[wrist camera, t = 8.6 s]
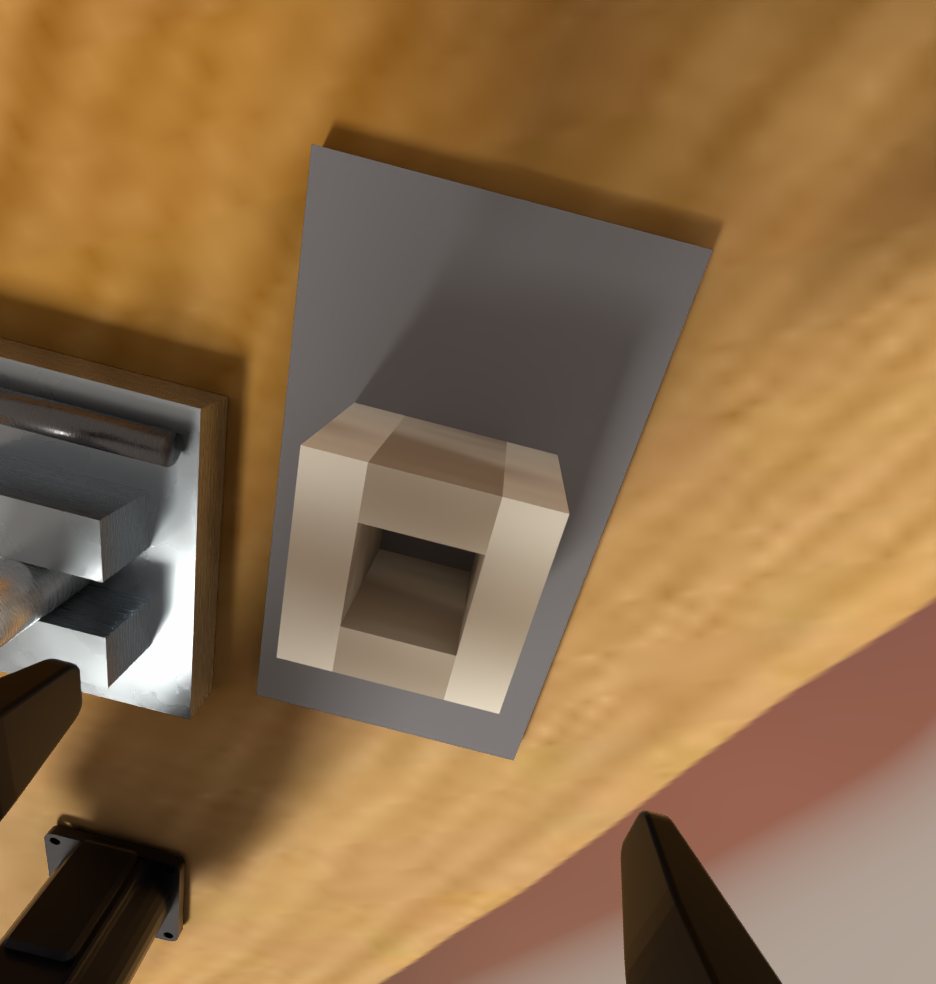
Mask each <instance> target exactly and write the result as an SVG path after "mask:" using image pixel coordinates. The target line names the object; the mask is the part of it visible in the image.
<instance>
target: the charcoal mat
mask: <svg viewBox="0 0 936 984" xmlns="http://www.w3.org/2000/svg"><path fill="white" fill-rule="evenodd" d="M712 251H713V250H711V249H708V248H704V247H700V246H696V245H692V244H689V243H685V242H681V241H677V240H673V239H670V238H666V237H662V236H658V235H655V234H651V233H647V232H643V231H639V230H636V229H632V228H628V227H624V226H620V225H617V224H613V223H609V222H605V221H602V220H598V219H594V218H590V217H586V216H583V215H579V214H575V213H571V212H567V211H564V210H560V209H556V208H552V207H549V206H545V205H541V204H537V203H533V202H530V201H526V200H522V199H518V198H514V197H511V196H507V195H503V194H499V193H496V192H492V191H488V190H484V189H480V188H477V187H473V186H469V185H465V184H461V183H458V182H454V181H450V180H446V179H442V178H439V177H435V176H431V175H427V174H424V173H420V172H416V171H412V170H408V169H405V168H401V167H397V166H393V165H389V164H386V163H382V162H378V161H374V160H371V159H367V158H363V157H359V156H355V155H352V154H348V153H344V152H340V151H336V150H333V149H329V148H325V147H321V146H318V145H314V144H312V146H311V156H310V166H309V176H308V186H307V196H306V206H305V216H304V226H303V236H302V246H301V256H300V266H299V275H298V285H297V295H296V305H295V315H294V325H293V335H292V345H291V355H290V365H289V375H288V385H287V395H286V405H285V414H284V424H283V434H282V444H281V454H280V464H279V474H278V484H277V494H276V504H275V514H274V524H273V534H272V544H271V554H270V563H269V573H268V583H267V593H266V603H265V613H264V623H263V633H262V643H261V653H260V663H259V673H258V683H257V693H256V695H259V696H263V697H267V698H271V699H275V700H279V701H283V702H287V703H291V704H294V705H298V706H302V707H306V708H310V709H314V710H318V711H322V712H326V713H330V714H334V715H338V716H341V717H345V718H349V719H353V720H357V721H361V722H365V723H369V724H373V725H377V726H381V727H385V728H388V729H392V730H396V731H400V732H404V733H408V734H412V735H416V736H420V737H424V738H428V739H432V740H435V741H439V742H443V743H447V744H451V745H455V746H459V747H463V748H467V749H471V750H475V751H479V752H482V753H486V754H490V755H494V756H498V757H502V758H506V759H510V760H514V758H515V756H516V753H517V750H518V748H519V745H520V743H521V740H522V738H523V735H524V733H525V730H526V727H527V725H528V722H529V720H530V717H531V715H532V712H533V710H534V707H535V704H536V702H537V699H538V697H539V694H540V692H541V689H542V686H543V684H544V681H545V679H546V676H547V674H548V671H549V669H550V666H551V663H552V661H553V658H554V656H555V653H556V651H557V648H558V645H559V643H560V640H561V638H562V635H563V633H564V630H565V628H566V625H567V622H568V620H569V617H570V615H571V612H572V610H573V607H574V605H575V602H576V599H577V597H578V594H579V592H580V589H581V587H582V584H583V581H584V579H585V576H586V574H587V571H588V569H589V566H590V564H591V561H592V558H593V556H594V553H595V551H596V548H597V546H598V543H599V541H600V538H601V535H602V533H603V530H604V528H605V525H606V523H607V520H608V517H609V515H610V512H611V510H612V507H613V505H614V502H615V500H616V497H617V494H618V492H619V489H620V487H621V484H622V482H623V479H624V476H625V474H626V471H627V469H628V466H629V464H630V461H631V459H632V456H633V453H634V451H635V448H636V446H637V443H638V441H639V438H640V436H641V433H642V430H643V428H644V425H645V423H646V420H647V418H648V415H649V412H650V410H651V407H652V405H653V402H654V400H655V397H656V395H657V392H658V389H659V387H660V384H661V382H662V379H663V377H664V374H665V371H666V369H667V366H668V364H669V361H670V359H671V356H672V354H673V351H674V348H675V346H676V343H677V341H678V338H679V336H680V333H681V331H682V328H683V325H684V323H685V320H686V318H687V315H688V313H689V310H690V307H691V305H692V302H693V300H694V297H695V295H696V292H697V290H698V287H699V284H700V282H701V279H702V277H703V274H704V272H705V269H706V267H707V264H708V261H709V259H710V256H711V254H712ZM353 403H358V404H362V405H366V406H370V407H373V408H377V409H381V410H385V411H389V412H393V413H397V414H401V415H404V416H408V417H412V418H416V419H420V420H424V421H428V422H432V423H436V424H439V425H443V426H447V427H451V428H455V429H459V430H463V431H467V432H471V433H474V434H478V435H482V436H486V437H490V438H494V439H498V440H502V441H506V442H509V443H513V444H517V445H521V446H525V447H529V448H533V449H537V450H541V451H544V452H548V453H552V454H556V455H558V459H559V464H560V469H561V474H562V479H563V484H564V489H565V494H566V499H567V504H568V509H569V517H568V520H567V522H566V525H565V528H564V531H563V534H562V537H561V540H560V542H559V545H558V548H557V551H556V554H555V557H554V559H553V562H552V565H551V568H550V571H549V574H548V576H547V579H546V582H545V585H544V588H543V591H542V593H541V596H540V599H539V602H538V605H537V608H536V611H535V613H534V616H533V619H532V622H531V625H530V628H529V630H528V633H527V636H526V639H525V642H524V645H523V647H522V650H521V653H520V656H519V659H518V662H517V664H516V667H515V670H514V673H513V676H512V679H511V682H510V684H509V687H508V690H507V693H506V696H505V699H504V701H503V704H502V707H501V710H500V713H499V714H497V713H493V712H490V711H486V710H482V709H478V708H474V707H470V706H466V705H462V704H458V703H454V702H450V701H446V700H442V699H438V698H434V697H430V696H426V695H422V694H419V693H415V692H411V691H407V690H403V689H399V688H395V687H391V686H387V685H383V684H379V683H375V682H371V681H367V680H363V679H359V678H355V677H352V676H348V675H344V674H340V673H336V672H332V671H328V670H324V669H320V668H316V667H312V666H308V665H304V664H300V663H296V662H292V661H288V660H284V659H281V658H277V649H278V640H279V631H280V623H281V614H282V605H283V596H284V587H285V578H286V570H287V561H288V552H289V543H290V534H291V525H292V517H293V508H294V499H295V490H296V481H297V472H298V464H299V455H300V446H301V444H303V443H304V442H305V441H306V440H308V439H309V438H310V437H311V436H313V435H314V434H315V433H317V432H318V431H319V430H320V429H322V428H323V427H324V426H325V425H327V424H328V423H329V422H331V421H332V420H333V419H334V418H336V417H337V416H338V415H339V414H341V413H342V412H343V411H344V410H346V409H347V408H348V407H350V406H351V405H352V404H353ZM380 549H382V550H386V551H390V552H394V553H398V554H402V555H405V556H409V557H413V558H417V559H421V560H425V561H429V562H433V563H437V564H441V565H445V566H449V567H452V568H456V569H460V570H464V571H468V572H471V568H472V565H473V561H474V557H475V554H476V553H475V552H471V551H467V550H463V549H459V548H456V547H452V546H448V545H444V544H440V543H436V542H432V541H428V540H424V539H420V538H416V537H413V536H409V535H405V534H401V533H397V532H393V531H389V530H385V529H383V534H382V539H381V544H380Z"/></svg>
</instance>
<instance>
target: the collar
mask: <svg viewBox="0 0 936 984" xmlns="http://www.w3.org/2000/svg"><path fill="white" fill-rule="evenodd" d="M568 517H569V509H568V504H567V499H566V494H565V489H564V484H563V479H562V474H561V469H560V464H559V459H558V455H556V454H552V453H548V452H544V451H541V450H537V449H533V448H529V447H525V446H521V445H517V444H513V443H509V442H506V441H502V440H498V439H494V438H490V437H486V436H482V435H478V434H474V433H471V432H467V431H463V430H459V429H455V428H451V427H447V426H443V425H439V424H436V423H432V422H428V421H424V420H420V419H416V418H412V417H408V416H404V415H401V414H397V413H393V412H389V411H385V410H381V409H377V408H373V407H370V406H366V405H362V404H358V403H353V404H352V405H351V406H350V407H348V408H347V409H346V410H344V411H343V412H342V413H341V414H339V415H338V416H337V417H336V418H334V419H333V420H332V421H331V422H329V423H328V424H327V425H325V426H324V427H323V428H322V429H320V430H319V431H318V432H317V433H315V434H314V435H313V436H311V437H310V438H309V439H308V440H306V441H305V442H304V443H303V444H301V446H300V455H299V464H298V472H297V481H296V490H295V499H294V508H293V517H292V525H291V534H290V543H289V552H288V561H287V570H286V578H285V587H284V596H283V605H282V614H281V623H280V631H279V640H278V649H277V658H281V659H284V660H288V661H292V662H296V663H300V664H304V665H308V666H312V667H316V668H320V669H324V670H328V671H332V672H336V673H340V674H344V675H348V676H352V677H355V678H359V679H363V680H367V681H371V682H375V683H379V684H383V685H387V686H391V687H395V688H399V689H403V690H407V691H411V692H415V693H419V694H422V695H426V696H430V697H434V698H438V699H442V700H446V701H450V702H454V703H458V704H462V705H466V706H470V707H474V708H478V709H482V710H486V711H490V712H493V713H497V714H499V713H500V710H501V707H502V704H503V701H504V699H505V696H506V693H507V690H508V687H509V684H510V682H511V679H512V676H513V673H514V670H515V667H516V664H517V662H518V659H519V656H520V653H521V650H522V647H523V645H524V642H525V639H526V636H527V633H528V630H529V628H530V625H531V622H532V619H533V616H534V613H535V611H536V608H537V605H538V602H539V599H540V596H541V593H542V591H543V588H544V585H545V582H546V579H547V576H548V574H549V571H550V568H551V565H552V562H553V559H554V557H555V554H556V551H557V548H558V545H559V542H560V540H561V537H562V534H563V531H564V528H565V525H566V522H567V520H568ZM383 529H385V530H389V531H393V532H397V533H401V534H405V535H409V536H413V537H416V538H420V539H424V540H428V541H432V542H436V543H440V544H444V545H448V546H452V547H456V548H459V549H463V550H467V551H471V552H475V553H476V554H475V557H474V561H473V565H472V568H471V572H468V571H464V570H460V569H456V568H452V567H449V566H445V565H441V564H437V563H433V562H429V561H425V560H421V559H417V558H413V557H409V556H405V555H402V554H398V553H394V552H390V551H386V550H382V549H380V544H381V539H382V534H383Z"/></svg>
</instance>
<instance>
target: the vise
mask: <svg viewBox="0 0 936 984" xmlns="http://www.w3.org/2000/svg"><path fill="white" fill-rule="evenodd" d="M227 410H228V397H226V396H222V395H219V394H215V393H211V392H207V391H203V390H199V389H196V388H192V387H188V386H184V385H180V384H176V383H172V382H169V381H165V380H161V379H157V378H153V377H149V376H145V375H142V374H138V373H134V372H130V371H126V370H122V369H119V368H115V367H111V366H107V365H103V364H99V363H95V362H92V361H88V360H84V359H80V358H76V357H72V356H69V355H65V354H61V353H57V352H53V351H49V350H45V349H42V348H38V347H34V346H30V345H26V344H22V343H18V342H15V341H11V340H7V339H3V338H0V671H2V672H6V673H10V674H11V673H13V672H16V671H18V670H20V669H23V668H25V667H28V666H30V665H33V664H35V663H38V662H40V661H43V660H46V659H58V660H62V661H66V662H70V663H74V664H76V665H77V666H78V667H79V669H80V678H81V691H82V692H85V693H88V694H92V695H96V696H100V697H104V698H108V699H112V700H116V701H120V702H124V703H128V704H132V705H136V706H140V707H143V708H147V709H151V710H155V711H159V712H163V713H167V714H171V715H175V716H179V717H183V718H187V719H191V717H192V716H193V715H194V713H195V712H196V711H197V709H198V708H199V707H200V705H201V704H202V703H203V701H204V700H205V698H206V697H207V696H208V694H209V693H210V692H211V690H212V682H213V664H214V646H215V628H216V610H217V592H218V573H219V555H220V537H221V519H222V501H223V483H224V465H225V447H226V428H227Z"/></svg>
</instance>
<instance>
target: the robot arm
mask: <svg viewBox="0 0 936 984" xmlns="http://www.w3.org/2000/svg"><path fill="white" fill-rule="evenodd" d="M81 706H82V691H81V678H80V669H79V667H78V666H77V665H76V664H74V663H70V662H66V661H62V660H58V659H46V660H43V661H40V662H38V663H35V664H33V665H30V666H28V667H25V668H23V669H20V670H18V671H16V672H13V673H11V674H8V675H6V676H3V677H1V678H0V821H1V820H2V819H3V818H4V816H5V815H6V814H7V812H8V811H9V810H10V809H11V807H12V806H13V805H14V803H15V802H16V801H17V799H18V798H19V797H20V795H21V794H22V792H23V791H24V790H25V788H26V787H27V786H28V784H29V783H30V781H31V780H32V779H33V777H34V776H35V774H36V773H37V772H38V770H39V769H40V768H41V766H42V765H43V763H44V762H45V761H46V759H47V758H48V757H49V755H50V754H51V752H52V751H53V750H54V748H55V747H56V746H57V744H58V743H59V741H60V740H61V739H62V737H63V736H64V734H65V733H66V732H67V730H68V729H69V728H70V726H71V725H72V723H73V722H74V721H75V719H76V718H77V716H78V714H79V712H80V709H81ZM44 839H45V847H46V854H47V861H48V869H49V876H50V877H49V878H48V880H47V881H46V882H45V883H44V885H43V886H42V887H41V889H40V890H39V891H38V892H37V894H36V895H35V896H34V898H33V899H32V900H31V901H30V903H29V904H28V905H27V907H26V908H25V909H24V910H23V912H22V913H21V914H20V916H19V917H18V918H17V919H16V921H15V922H14V923H13V925H12V926H11V927H10V928H9V930H8V931H7V932H6V934H5V935H4V936H3V937H2V939H1V940H0V984H130V982H131V980H132V978H133V977H134V975H135V973H136V971H137V969H138V968H139V966H140V964H141V962H142V960H143V958H144V957H145V955H146V953H147V951H148V949H149V948H150V946H151V944H152V942H153V940H154V938H155V937H156V938H160V939H164V940H168V941H176V940H177V939H178V937H179V935H180V933H181V931H182V929H183V903H184V873H185V863H184V861H183V859H182V858H180V857H179V856H176V855H173V854H169V853H165V852H161V851H157V850H153V849H150V848H146V847H142V846H138V845H134V844H130V843H126V842H122V841H118V840H114V839H110V838H106V837H102V836H98V835H94V834H90V833H86V832H82V831H78V830H74V829H70V828H66V827H62V826H54V827H52V828H51V830H50V831H49V832H48V833H47V834H46V835H45V838H44ZM621 881H622V908H623V934H624V935H623V936H624V960H625V976H626V984H782V982H781V981H780V980H779V978H778V976H777V975H776V974H775V972H774V970H773V969H772V968H771V966H770V965H769V963H768V962H767V960H766V959H765V957H764V956H763V954H762V953H761V951H760V950H759V948H758V947H757V945H756V944H755V943H754V941H753V939H752V938H751V937H750V935H749V933H748V932H747V931H746V929H745V928H744V926H743V925H742V923H741V922H740V920H739V919H738V917H737V916H736V914H735V913H734V911H733V910H732V908H731V907H730V905H729V904H728V902H727V901H726V900H725V898H724V897H723V895H722V894H721V892H720V891H719V889H718V888H717V886H716V885H715V883H714V882H713V880H712V879H711V877H710V876H709V874H708V873H707V871H706V870H705V869H704V867H703V865H702V864H701V863H700V861H699V860H698V858H697V857H696V855H695V854H694V852H693V851H692V849H691V848H690V846H689V845H688V843H687V842H686V841H685V839H684V837H683V836H682V834H681V833H680V832H679V830H678V829H677V827H676V826H675V824H674V823H673V822H672V820H671V819H670V818H669V817H667V816H665V815H662V814H658V813H654V812H650V811H642V812H641V813H639V815H638V816H637V818H636V820H635V822H634V823H633V825H632V827H631V829H630V831H629V832H628V834H627V836H626V838H625V839H624V842H623V845H622V849H621Z"/></svg>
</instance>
